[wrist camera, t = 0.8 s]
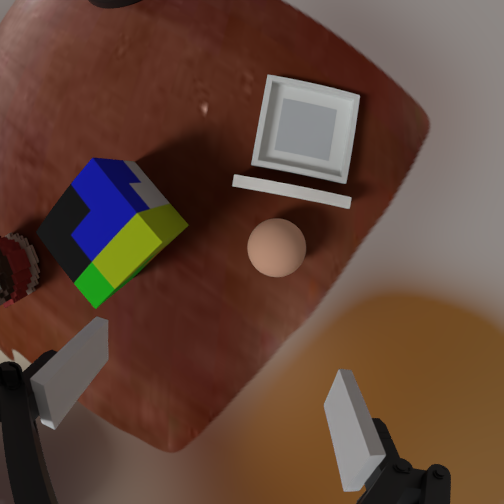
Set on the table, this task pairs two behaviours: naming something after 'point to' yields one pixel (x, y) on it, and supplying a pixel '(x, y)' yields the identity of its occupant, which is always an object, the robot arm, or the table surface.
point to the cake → (17, 269)
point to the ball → (276, 247)
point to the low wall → (291, 191)
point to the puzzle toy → (108, 227)
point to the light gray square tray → (306, 129)
